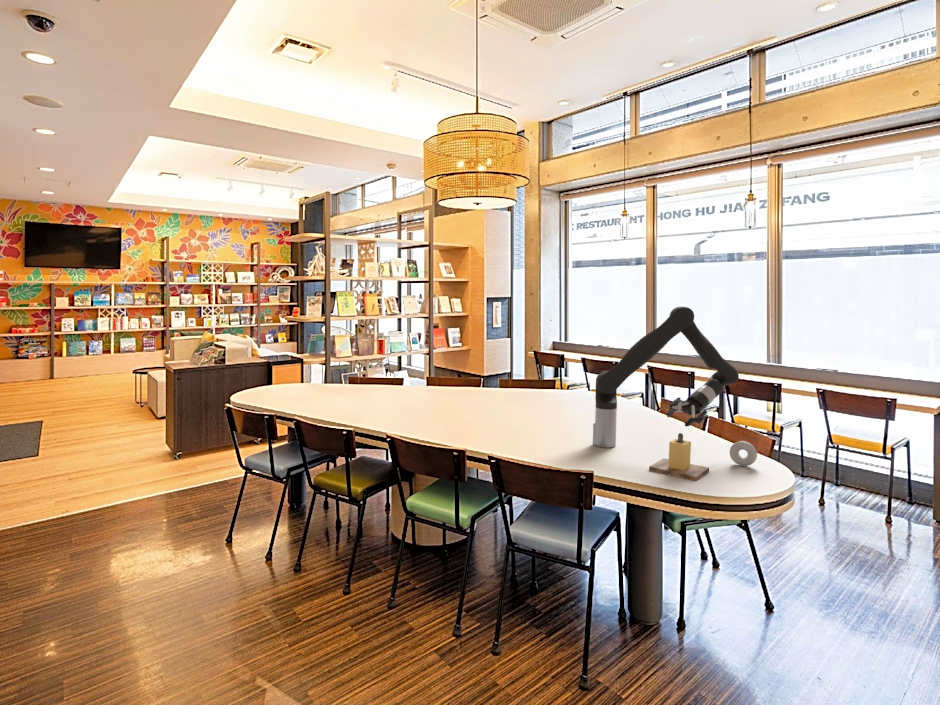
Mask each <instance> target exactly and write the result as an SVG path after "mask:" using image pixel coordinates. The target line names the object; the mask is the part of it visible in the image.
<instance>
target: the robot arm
mask: <svg viewBox="0 0 940 705" xmlns="http://www.w3.org/2000/svg"><path fill="white" fill-rule="evenodd" d="M694 320H695V313H694V311H693V310H692V309H691V308H690V307H688V306H677V307H674V308H672V310H671V311H670V313H669V316H668V317H667V318H666V319H665V320H664V321H663V323H661V324H660V325H659V326H658V327H656V328H655V329H654V330H652V331H650V332H648V333H647V334H646V335H644V336H642V337H641V338H640V339H639V340H638V341H637V342H635V343H634V344H633V345H632V346H631V347H630V348H629V350H628V351H627V352H626V353H625V354H624V356H622V358H621V359H620V360H619V362H618V363H616V364H615V365H614V366H613V367H612V368H610V369H609V370H603V371H602V372H599V373H598V374H597V376H596V379H595V397H594V398H595V410H594V412H595V413H594V414H595V415H594V418H595V419H594V423H593V424H592V425H593V426H592V445H595V446H596V447H600V448H604V449H605V448H614V447H616V445H617V444H616V443H617V439H616V438H617V411H618V398H617V390H618V388H620V386H621V385H622V384H623V383H624V382H625V381H626V380H627V379H628V378H629V377H630V376H631V375H632V374H634V373H635V372H636V371H638V370H639V369H640V368H641V367H643V366H644V365H645V364H647V363H648V362H649V361H650V360H651V359H652V358H654V357H655V356H656V355H657V354H658V353H659V352H660V351H661V350H662V349H663V348H665V346H666V345H667V344H668V343H669V342H670V341H671V340H672V339H673V338H674V337H676V336H677V335H678V334H680V333H681V334H683V336H685V338H686V339H687V340H688V342H689V343H690V344H691V346H692V347H693V349H694V350H695V352H696V353H697V355H698V356H699V357H700V359H701V360H702V361H703V363H704V364H705V365H706V367H707V368H709V369H713V370H716V371H715V372H714V373H712V374H711V376H710V377H709V379H708V380H707V381H706V382H705V383H704V384H703V385H702V386H700V387H699V388H697V389H696V390H694V392H692V393H691V394H690V395H689V396H688V397H687V399H686V400H681V397H677V398H676V399H674V400H673V401H672V402H670V403H669V404H668V405H669V410H667V412H666V417H667V418H670V417H671V416H673V415H674V414H675V413H685V414H687V415H689V416H691V417H689V418H688V419H687V420H686V421H685V422H684V426H685V428H687V427H690V426H691V425H693V423H697V424H701V422H703V420H705V419H706V418H707V416H708V411H707V410H705V408H708V406H709V405H710V404H711V403H713V401H715V399H716V398H717V397H718V396H719V395H720V394H721V393H722V392H723V390H724V387H726V386H729V385H733V384H735V383H737V382H738V381H739V378H740V377H739V372H738V370H737V369H736V367H734V366H733V365H732V364H731V363H730V362H729V361H727V360H726V359H725V358H724V357H722V355H721V354H720V353H719V351H718V350H717V348H716V347H715V346H714V344H713V343H711V342H710V340H709V339H708V338H707V337H706V336H705V335H704V333H702V331H701V330H700V329H699V328H698V326H697V324H696V323H695V321H694ZM696 415H698V416H697V417H696Z"/></svg>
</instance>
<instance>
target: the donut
mask: <svg viewBox="0 0 940 705" xmlns="http://www.w3.org/2000/svg"><path fill="white" fill-rule="evenodd" d="M741 450H744V451H745V452H746V453H747V456H744V457H743V456H741V455H740V454H739V452H740V451H741ZM729 457H730V458H731V460H732V462H734V463H735V464H737V465H739V466H742V467H748V466H751V465H753V464H754V463H755V462H756V460H757V458H758V452H757V448H756V447H755V446H754V445H753V444H752V443H750V442H748V441H745V440H739V441H736V442H734V443H732V444H731V446H730V448H729Z"/></svg>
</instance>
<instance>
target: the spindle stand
mask: <svg viewBox="0 0 940 705" xmlns="http://www.w3.org/2000/svg"><path fill="white" fill-rule="evenodd" d="M677 439H678V443H683V440H684V435H683V433H682V432H679V433H678V434H677ZM668 466H669V458H665V457H663V458H661V459H659V460H658V461H656V462H655V463H653V464H651V465H649V466H648V471H651V470H653V471H652V472H655V471H657V472H656V473H659V472H662V473H661V474H664V473H666V474H665V475H668V474H670V475H669V476H673V475H674V476H673V477H677V476H679V477H678V478H681V477H683V478H682V479H686V478H688V479H687V480H690V479H691V481H695V480H696V481H698V480H699V479H701V478H702V477H703V476H705V475H706V474H707V472H708V473H710V467H707V466H703V465H698V464H695V463H694V464H693V463H690V467H689V468H687V469H686V470H679V469H675V468H670V467H668ZM704 474H705V475H704ZM701 476H702V477H701ZM700 477H701V478H700ZM697 479H698V480H697Z"/></svg>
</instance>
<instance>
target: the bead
mask: <svg viewBox="0 0 940 705" xmlns="http://www.w3.org/2000/svg"><path fill="white" fill-rule="evenodd" d="M668 446H669V447H668V448H669V449H668V459H669V466H668V467H670V468H675V469H679V470H686V469H687V468H689V467H690V464H691V453H692V452H691V451H692V450H691V449H692V441H690V440H684V439H683V443H678V438H675V439H673V440H671V441H669V445H668Z"/></svg>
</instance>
